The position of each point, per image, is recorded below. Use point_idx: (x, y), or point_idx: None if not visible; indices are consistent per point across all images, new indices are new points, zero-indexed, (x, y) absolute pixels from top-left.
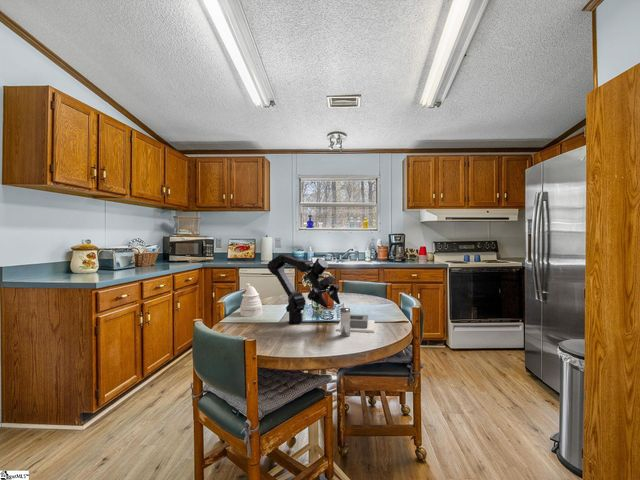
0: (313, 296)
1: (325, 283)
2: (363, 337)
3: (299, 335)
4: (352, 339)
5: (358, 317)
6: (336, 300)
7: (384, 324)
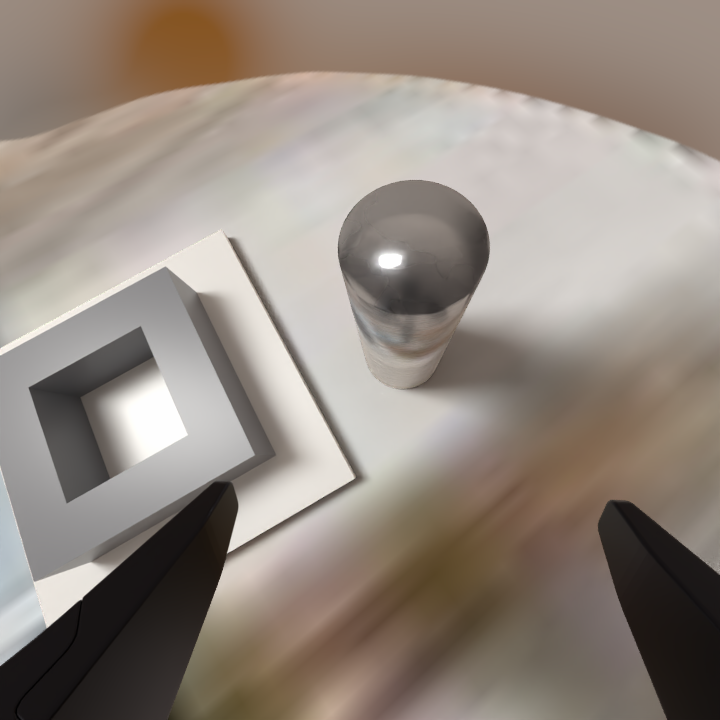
0: None
1: None
2: None
3: None
4: None
5: (54, 428)
6: (192, 588)
7: (15, 279)
